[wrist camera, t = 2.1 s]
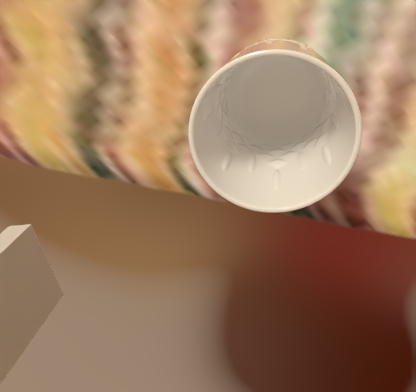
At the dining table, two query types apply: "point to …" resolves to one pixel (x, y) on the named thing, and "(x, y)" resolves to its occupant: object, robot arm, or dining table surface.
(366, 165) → the dining table surface
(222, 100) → the white cup
